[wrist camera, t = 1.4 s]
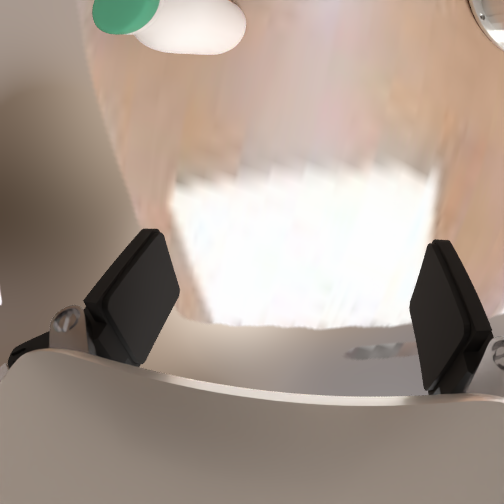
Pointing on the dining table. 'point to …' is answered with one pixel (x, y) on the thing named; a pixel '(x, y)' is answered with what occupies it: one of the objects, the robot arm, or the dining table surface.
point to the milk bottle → (174, 23)
